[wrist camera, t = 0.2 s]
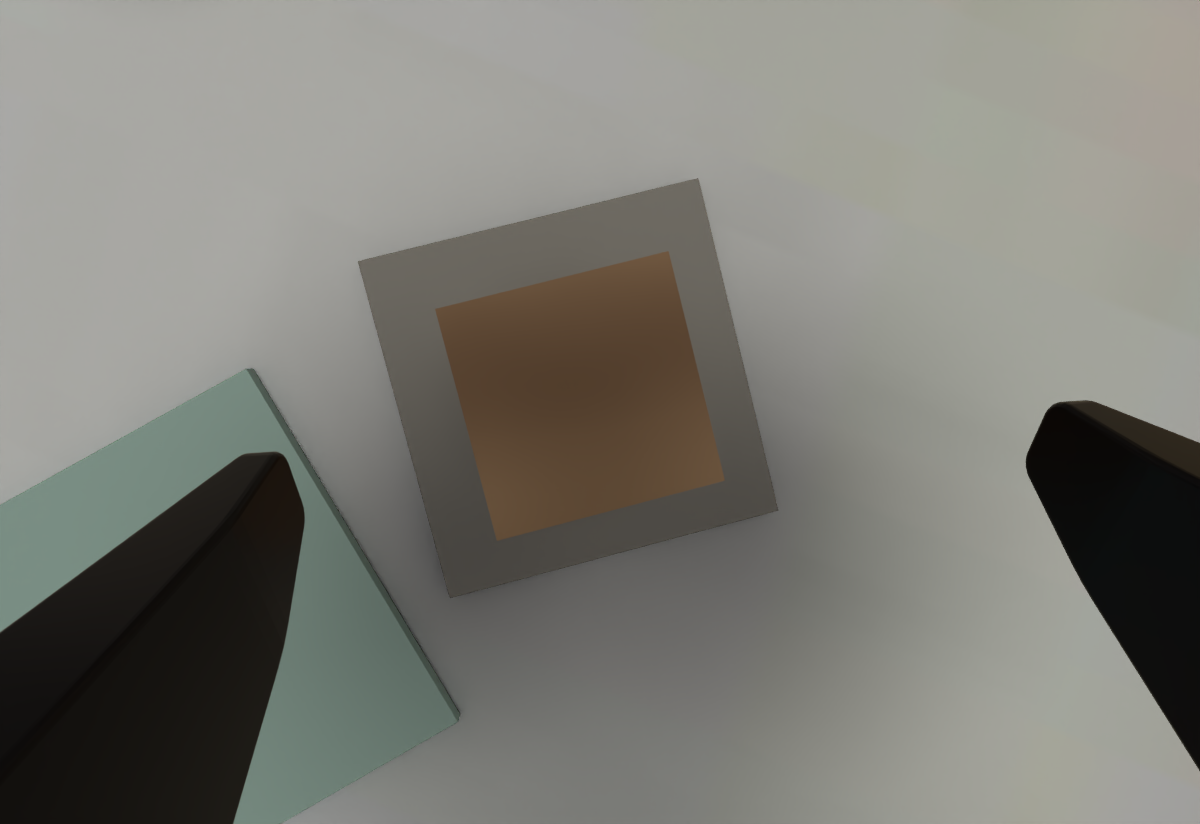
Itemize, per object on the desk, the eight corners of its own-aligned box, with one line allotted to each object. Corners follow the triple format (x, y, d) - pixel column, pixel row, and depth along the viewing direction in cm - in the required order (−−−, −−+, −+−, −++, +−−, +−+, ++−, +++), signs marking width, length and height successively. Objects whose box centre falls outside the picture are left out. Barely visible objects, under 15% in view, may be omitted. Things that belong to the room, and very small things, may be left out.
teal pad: (459, 714, 23) (457, 721, 22) (108, 916, 23) (98, 928, 22) (253, 368, 22) (246, 368, 21) (-116, 573, 22) (-132, 578, 21)
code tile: (774, 508, 23) (779, 511, 23) (451, 594, 23) (449, 598, 22) (695, 181, 22) (698, 177, 22) (361, 263, 22) (357, 261, 22)
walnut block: (658, 439, 22) (725, 480, 13) (522, 475, 22) (497, 540, 13) (624, 302, 22) (668, 251, 13) (486, 337, 22) (435, 309, 13)
